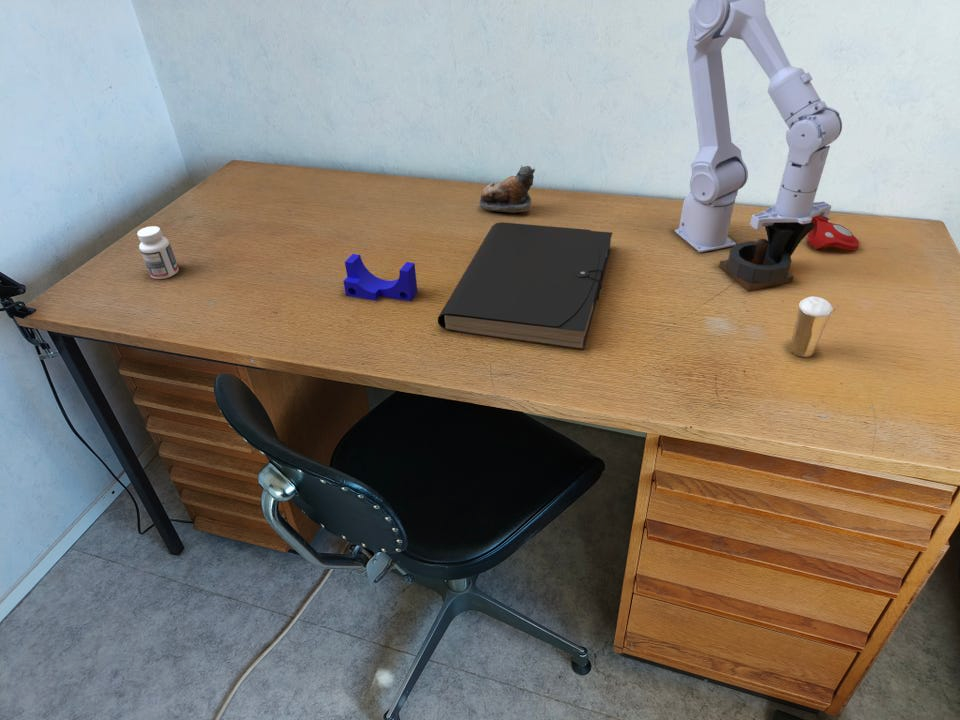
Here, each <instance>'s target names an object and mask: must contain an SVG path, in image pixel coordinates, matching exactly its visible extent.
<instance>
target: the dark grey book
mask: <svg viewBox="0 0 960 720" xmlns="http://www.w3.org/2000/svg"><path fill="white" fill-rule="evenodd" d="M612 237H613V232H612V231H598V230H591V229H584V228H573V227H563V226H560V227H559V226H550V225H539V224H538V225H537V224H528V223H527V224H526V223H515V222H502V221H501V222H496V223H494V224H493V225H492V226H491V227H490V228H489V230H488V232H487V234H486V236H485V237H484V239H483V241H482V242H481V244H480V245H479V247H478V248H477V250H476V253H475V254H474V256H473V258H472V259H471V261H470V263H469V264H468V266H467V267H466V269H465V271H464V273H463V274H462V276H461V278H460V280H459V281H458V283H457V284H456V286H455V288H454V290H453V291H452V293H451V295H450V296H449V298H448V300H447V301H446V303H445V305H444V307H443V308H442V310H441V312H440V313H439V315H438V317H437V323H438V325H439V326H440V328H441V329H443V330H446V331H448V332H454V333H460V334H468V335H476V336H482V337H490V338H496V339H505V340H511V341H519V342H525V343H534V344H540V345H549V346H555V347H563V348H569V349H570V348H571V349H575V350H576V349H577V350H585V346H586V342H587V339H588V335H589V331H590V328H591V324H592V320H593V317H594V314H595V309H596V306H597V302H598V301H599V299H600V291H601V290H602V288H603V287H602V286H603V280H604V276H605V273H606V269H607V266H608V262H609V260H610V259H609V258H610V255H611V251H612V248H611V242H612Z"/></svg>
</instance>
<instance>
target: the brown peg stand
mask: <svg viewBox="0 0 960 720" xmlns="http://www.w3.org/2000/svg"><path fill="white" fill-rule="evenodd" d="M756 242H757V246H756V250H755V254H754V257H753V258H748V259H744V260H745V261H747V262H750V263H753V264H756V265H766V266H770V265H774V264H772V263H771V262H768V261H765V260H764V258H765V254H766V251H767V247H768V243H769V241H768V239H766V238H759V239H758V240H757V241H756ZM727 262H728V259H724V260H721V261H719V264H718V268H719V269H721V270H722V271H723V272H724V273H725V274H727V275H728V276H729V277H730V278H731V279H733V280H734V281H735V282H736V283H737V284H738V285H740V286H741V287H742V288H743V289H745V290H746V291H747V292H753V291H757V290H762V289H766V288H770V287H775V286H780V285H785V284H789V283H793V280H794V275H793V274H791V273H790V271H789V272H788V275H787V276H786V277H785V278H784V279H783V280H782V281H778V282H773V283H768V284H766V283H754V282H749V281H746V280H744V279H741V278H738V277H736V276H735V275H734V274H733V273H732V272H730V271H729V270H728V263H727Z"/></svg>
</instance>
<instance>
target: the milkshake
mask: <svg viewBox="0 0 960 720" xmlns="http://www.w3.org/2000/svg"><path fill="white" fill-rule="evenodd" d="M838 307H839V305H837V306H836V307H835V308H834V307H833V306H832V304H831V302H830V301H828V300H826V299H825V298H823V297H821V296H814V295H811V296H808V297H805V298H803V299H802V300H800V302H799V304H798V309H797V313H796V318H795V323H794V327H793V332H792V336H791V341H790V345H789V350H790V352H791V353H792V354H793V355H795V356H796V357H801V358H809V357H811V356H812V355H813V354H814V352H815V350H816V348H817V346H818V343H819V341H820V339H821V337H822V335H823V332H824V330H825V328H826V327H827V325H828V323H829V320H830V319H831V317H832V314H833V312H834V311H835V310H837V308H838Z"/></svg>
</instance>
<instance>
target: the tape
mask: <svg viewBox="0 0 960 720" xmlns="http://www.w3.org/2000/svg"><path fill="white" fill-rule="evenodd" d="M757 242H758V241H756V240H754V241H753V240H748V241H743V242H738V243H736V245H735V246H731V247H730V250H729V254H728V258H727V260H728V262H727V263H728V270H729V271H730V272H732V273H733V274H734V275H735V276H736V277H738V278H741V279H744V280H746V281H749V282H754V283H766V284H768V283H773V282H778V281H782V280H783V279H784V278H785V277H786V276H787V275H788V272H789V273H790V268H791V265H792V262H793V260H792V256H791V257H790V254H789V253H788V252H787V251H785V250H783V253H782V256H781V258H780V260H779V261H777V262H775V261H774V260H772V259H771V258H770V257H769V244H768V247H767V251H766V254H765V258H764V260H765V261H768V262H771V263H772V264H774V265H770V266H766V265H756V264H753V263H750V262H747V261H745V260H744V259H748V258H753V257H754V254H755V250H756V246H757Z"/></svg>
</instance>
